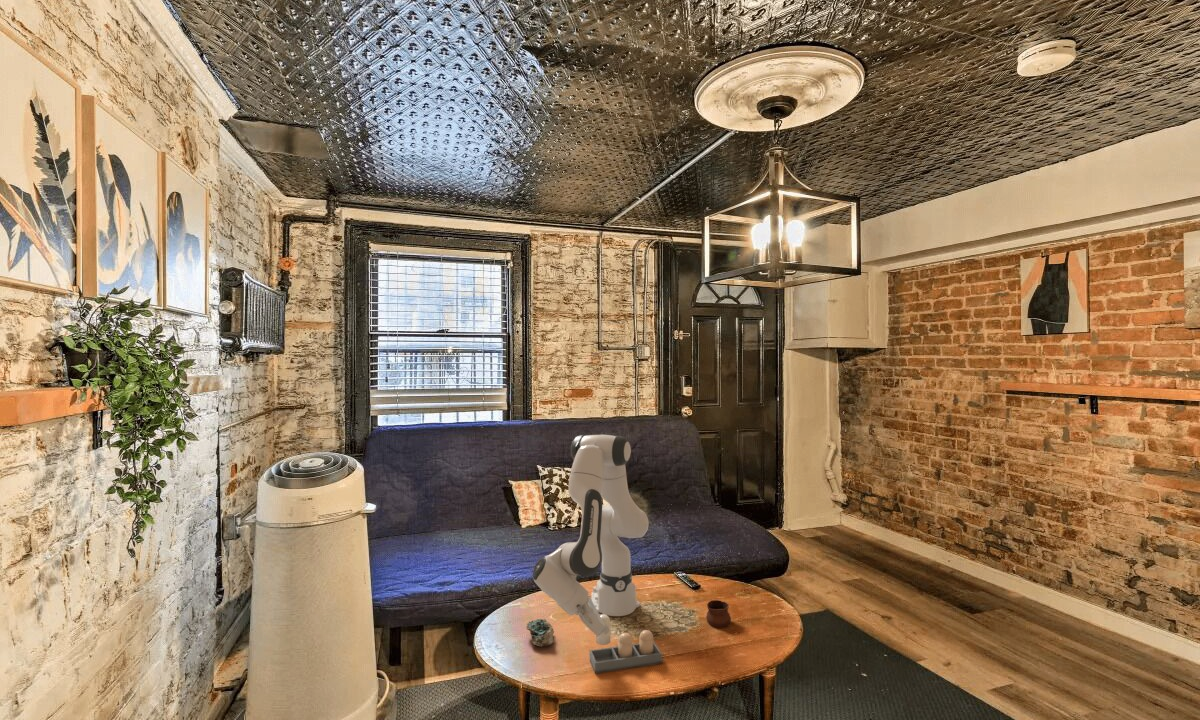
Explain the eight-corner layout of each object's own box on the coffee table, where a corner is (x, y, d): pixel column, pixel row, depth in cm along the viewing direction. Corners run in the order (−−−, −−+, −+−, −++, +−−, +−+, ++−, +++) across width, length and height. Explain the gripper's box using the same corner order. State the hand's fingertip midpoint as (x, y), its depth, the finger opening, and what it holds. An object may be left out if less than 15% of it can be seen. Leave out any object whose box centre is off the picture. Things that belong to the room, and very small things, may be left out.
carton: (589, 660, 175) (589, 632, 175) (653, 650, 180) (653, 623, 180) (595, 673, 168) (594, 644, 167) (661, 663, 173) (661, 635, 173)
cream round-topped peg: (594, 638, 173) (594, 612, 173) (608, 636, 174) (608, 611, 174) (598, 645, 169) (598, 619, 169) (612, 643, 170) (611, 617, 170)
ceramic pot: (687, 629, 195) (687, 609, 194) (700, 608, 211) (700, 590, 210) (738, 641, 187) (738, 620, 187) (748, 618, 203) (748, 599, 203)
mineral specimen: (525, 631, 192) (524, 614, 189) (550, 624, 195) (550, 607, 192) (533, 660, 181) (533, 643, 178) (560, 652, 184) (560, 635, 181)
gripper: (588, 606, 160) (621, 635, 162) (575, 578, 180) (604, 604, 182) (574, 623, 159) (606, 652, 161) (561, 593, 179) (591, 619, 181)
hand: (605, 626), depth 172 cm, fingers closed on cream round-topped peg, 4 cm apart
